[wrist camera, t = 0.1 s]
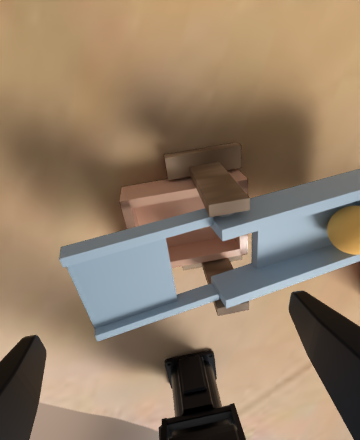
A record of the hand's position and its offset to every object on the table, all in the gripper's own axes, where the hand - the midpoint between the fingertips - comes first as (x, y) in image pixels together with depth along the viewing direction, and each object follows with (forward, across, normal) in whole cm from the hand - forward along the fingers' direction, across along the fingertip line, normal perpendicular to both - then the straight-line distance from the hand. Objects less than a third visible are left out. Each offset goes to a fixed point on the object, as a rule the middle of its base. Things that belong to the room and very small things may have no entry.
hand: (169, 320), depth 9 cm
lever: (+9, -5, +4) cm, 11 cm away
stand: (+14, -4, +4) cm, 16 cm away
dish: (+14, -2, +4) cm, 15 cm away
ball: (+8, -14, +4) cm, 16 cm away
